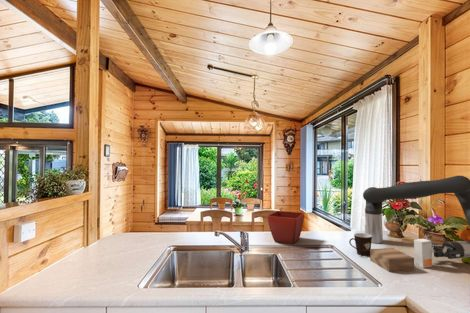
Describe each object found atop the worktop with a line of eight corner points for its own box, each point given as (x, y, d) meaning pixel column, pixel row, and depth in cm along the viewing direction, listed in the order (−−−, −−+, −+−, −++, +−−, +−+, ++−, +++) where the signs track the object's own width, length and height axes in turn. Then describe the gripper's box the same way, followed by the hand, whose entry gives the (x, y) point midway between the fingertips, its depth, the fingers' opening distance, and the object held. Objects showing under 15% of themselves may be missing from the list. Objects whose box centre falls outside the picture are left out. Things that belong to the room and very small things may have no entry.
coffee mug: (370, 251, 142) (369, 233, 143) (374, 257, 134) (373, 237, 134) (347, 250, 145) (346, 232, 146) (350, 255, 137) (349, 236, 137)
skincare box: (423, 268, 119) (421, 242, 119) (414, 265, 123) (413, 239, 123) (433, 266, 121) (431, 240, 121) (424, 263, 125) (423, 238, 125)
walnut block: (370, 261, 130) (370, 249, 130) (393, 260, 131) (392, 248, 131) (389, 272, 116) (388, 259, 116) (414, 271, 117) (414, 257, 117)
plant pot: (297, 246, 154) (296, 218, 155) (267, 242, 164) (266, 215, 164) (305, 238, 171) (304, 212, 171) (278, 235, 180) (277, 210, 181)
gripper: (443, 237, 131) (414, 239, 129) (472, 246, 117) (439, 248, 115) (444, 252, 131) (414, 254, 129) (473, 263, 117) (440, 265, 115)
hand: (426, 251), depth 122 cm, fingers open, 8 cm apart
